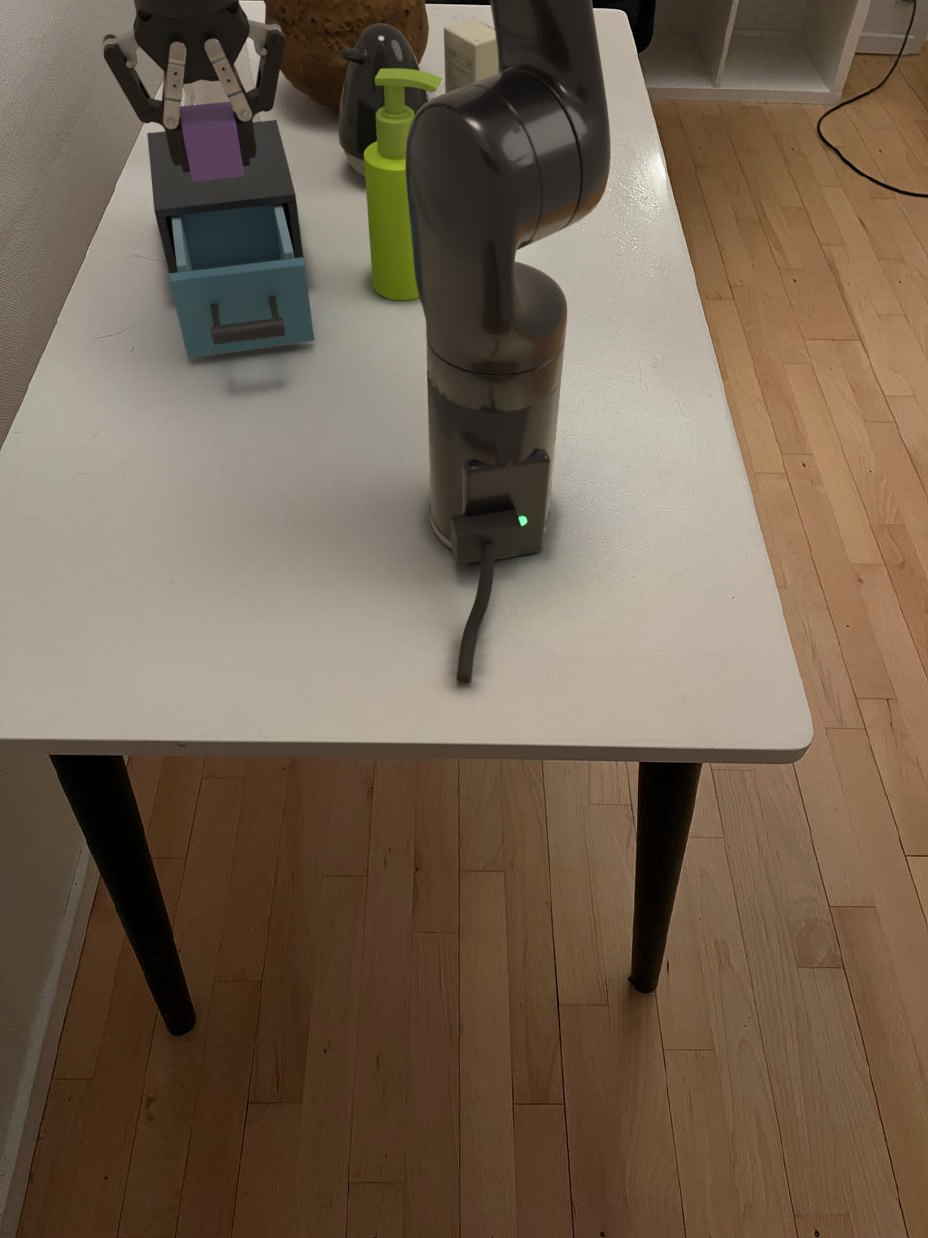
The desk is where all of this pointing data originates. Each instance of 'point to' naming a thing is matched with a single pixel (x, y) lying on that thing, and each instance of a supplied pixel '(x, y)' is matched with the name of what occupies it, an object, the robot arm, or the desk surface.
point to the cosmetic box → (469, 53)
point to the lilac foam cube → (211, 141)
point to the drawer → (238, 281)
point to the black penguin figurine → (371, 87)
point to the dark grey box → (223, 187)
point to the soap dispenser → (392, 186)
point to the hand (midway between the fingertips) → (216, 163)
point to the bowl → (337, 37)
